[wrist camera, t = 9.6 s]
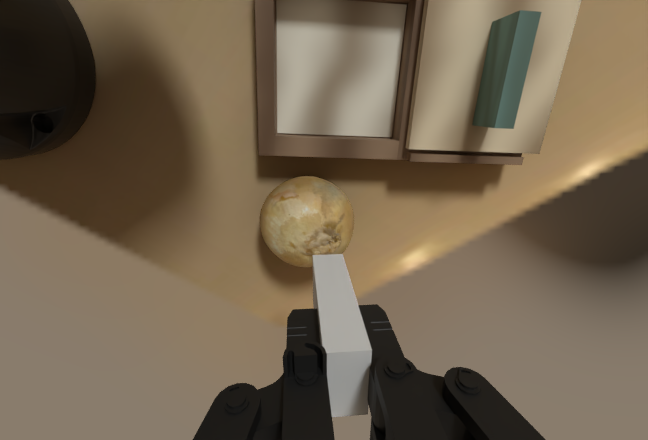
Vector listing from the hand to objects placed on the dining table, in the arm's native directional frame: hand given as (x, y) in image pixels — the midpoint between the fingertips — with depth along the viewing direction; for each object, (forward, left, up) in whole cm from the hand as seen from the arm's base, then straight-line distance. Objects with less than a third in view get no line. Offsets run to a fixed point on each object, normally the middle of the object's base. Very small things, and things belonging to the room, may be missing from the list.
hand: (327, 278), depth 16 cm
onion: (-1, -1, -15) cm, 15 cm away
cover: (+13, +11, -12) cm, 20 cm away
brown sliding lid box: (+6, +11, -14) cm, 19 cm away
